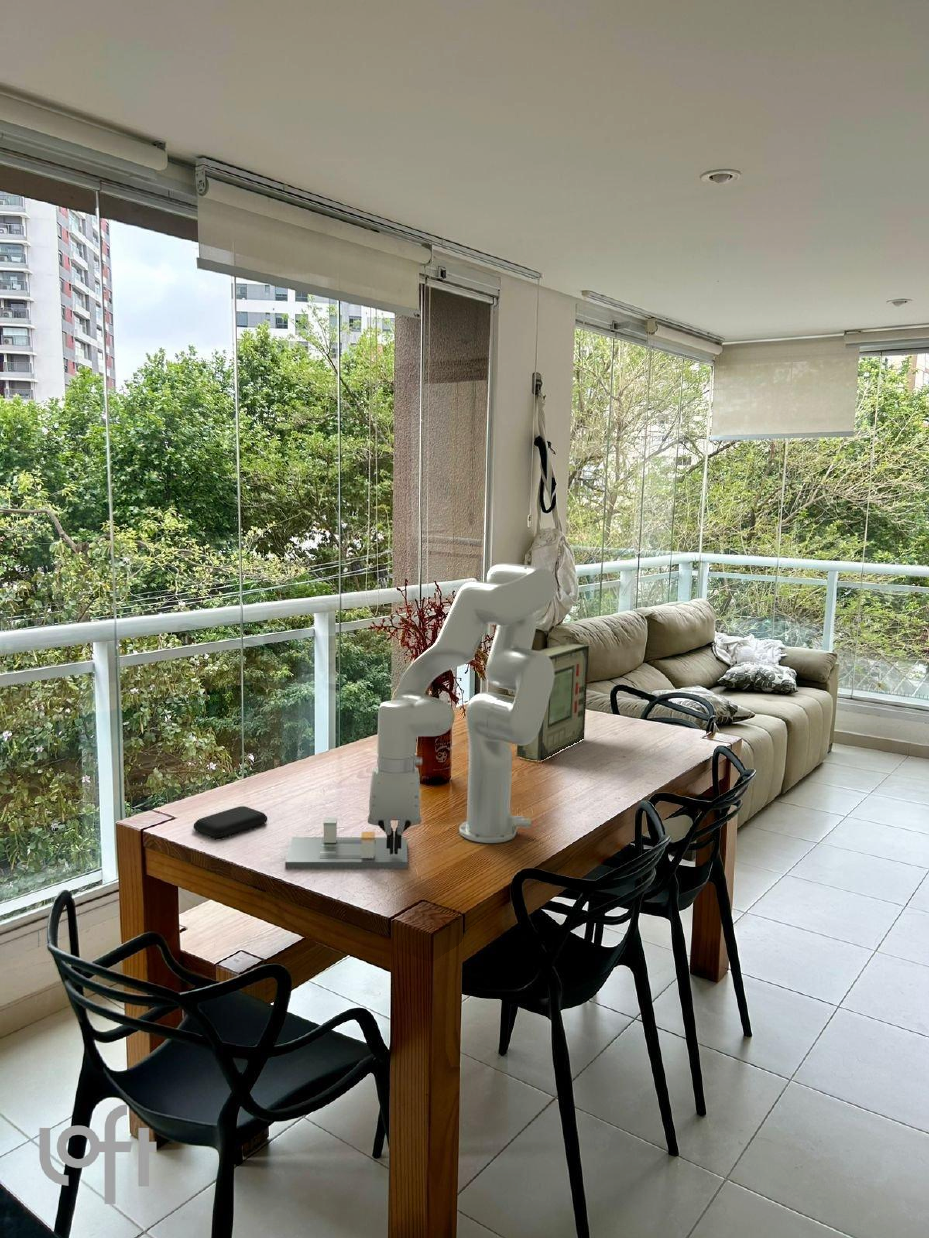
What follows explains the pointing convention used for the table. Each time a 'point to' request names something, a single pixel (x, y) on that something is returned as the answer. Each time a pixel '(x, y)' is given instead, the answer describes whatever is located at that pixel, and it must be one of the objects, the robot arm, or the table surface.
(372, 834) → the block
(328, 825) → the breaker
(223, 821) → the carrying case or bag
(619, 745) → the table surface
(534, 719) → the robot arm
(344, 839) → the grey slotted panel
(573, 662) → the control panel
